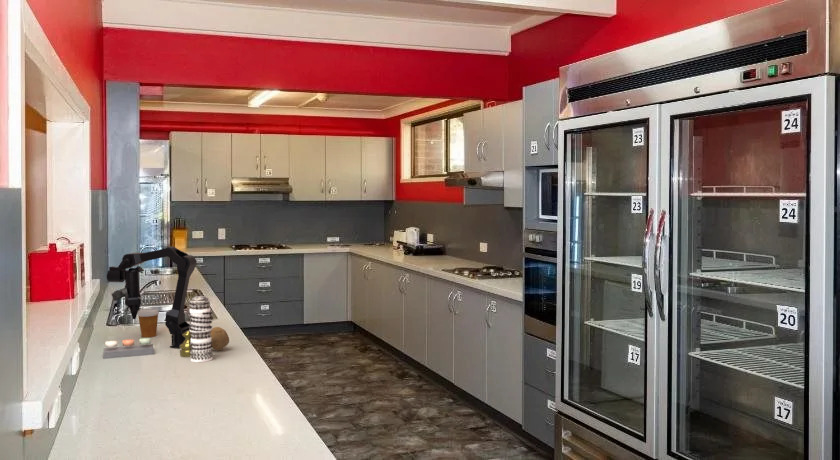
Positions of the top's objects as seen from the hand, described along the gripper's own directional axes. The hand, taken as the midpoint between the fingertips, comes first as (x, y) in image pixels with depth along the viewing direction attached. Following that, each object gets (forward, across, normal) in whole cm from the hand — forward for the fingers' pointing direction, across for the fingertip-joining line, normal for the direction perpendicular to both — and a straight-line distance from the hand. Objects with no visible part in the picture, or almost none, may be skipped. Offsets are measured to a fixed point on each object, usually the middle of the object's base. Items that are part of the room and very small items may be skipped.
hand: (133, 318), depth 329 cm
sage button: (+8, +16, +4) cm, 19 cm away
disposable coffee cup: (+12, -20, +6) cm, 24 cm away
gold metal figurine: (+12, +29, +21) cm, 37 cm away
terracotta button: (+8, +16, -2) cm, 18 cm away
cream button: (+8, +16, -9) cm, 20 cm away
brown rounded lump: (+12, +25, +32) cm, 42 cm away
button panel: (+12, +16, -2) cm, 20 cm away
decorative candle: (+12, +39, +25) cm, 48 cm away
